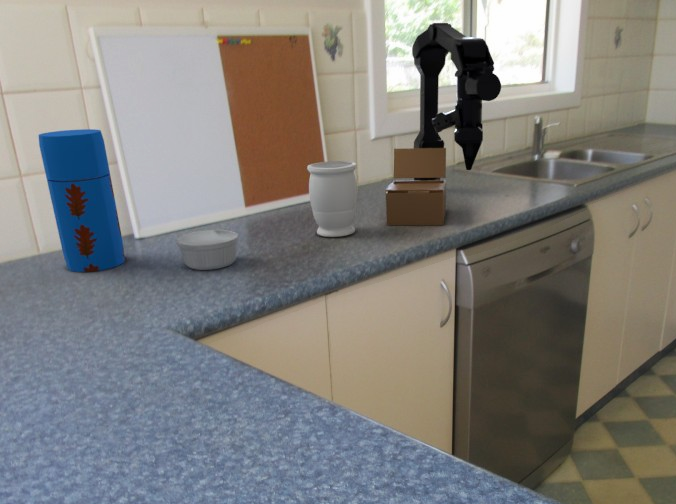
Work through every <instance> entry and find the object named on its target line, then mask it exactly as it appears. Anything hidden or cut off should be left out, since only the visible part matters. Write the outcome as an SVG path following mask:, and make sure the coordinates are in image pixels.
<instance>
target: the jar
mask: <svg viewBox="0 0 676 504" xmlns="http://www.w3.org/2000/svg"><path fill="white" fill-rule="evenodd" d="M356 169H357V163H356V162H353V161H344V160H332V161H330V160H329V161H320V162H314V163H310V164H308V165H307V171H308V172H309V174H310V175H309V180H308V196H309V203H310V206H311V210H312V215H313V218H314V221H315V223H316V225H317V226H318V228H317V230H316V234H317V235H318V236H321V237H325V238H340V237H341V238H342V237H347V236H350V235H353V234H354V233H355V232H356V229H355V227H354V225H353V224H354V221H355V219H356V216H357V205H358V198H359V197H358V195H359V193H358V191H359V190H358V182H357V177H356V174H355V171H356Z"/></svg>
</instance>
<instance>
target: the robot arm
mask: <svg viewBox="0 0 676 504" xmlns="http://www.w3.org/2000/svg"><path fill="white" fill-rule="evenodd" d="M411 53H412V54H411V55H412V57H413V64H414V66H415V68H416V71H418V73H419V77H420V79H419V83H420V85H419V89H420V90H419V107H420V108H419V132H418V134H417V136H416V138H414V141H413V148H445V141H444V139H442V138H441V136H440V134H439V133H441V132H443V131H444V130H447V129H449V128H451V127H454V129H455V130H454V132H453V133H454V134H453V135H454V142H455V143H456V145H458V146H459V147H460V148H461V150H462V154H463V160H464V166H465V170H466V171H471V170H472V169H473V166H474V163H475V161H476V158H477V156H478V153H479V151H480V148H481V146H482V143H483V141H484V129H483V126H484V125H483V118H482V117H483V102H491V101H494V100H495V99H497V97H499V95H500V94H501V90H502V83H501V80H500V78H499V77H498V75H497V74H495V73H494V71H495V66H494V65H495V62H494V60H493V57H492V54H491V52H490V49H489V46H488V44H487V42H486V40H485V39H484V38H480V37H471V36H466V35H465V34H463V33H461V32H460V31H459V30H457V29H456V28H454V27H453V26H452V24H451V23H448V22H432V23H431V24H429V25H428V27H427V29H426V30H424V31H423V32H421V33H420V34H418V35H417V36H416V38H415V40H414V42H413V44H412V49H411ZM449 53H450V60H451V62H452V64H454V67H455V68H456V71H455V73H454V77H455V78H456V104H455V105H454V109H453V110H450V111H448V112H444V111H441V112H439V81H440V79H439V78H440V74H441V72H442V71H443V69H444V67H445V66H446V60H447V56H448V54H449ZM416 180H441V178H413V181H416Z"/></svg>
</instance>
